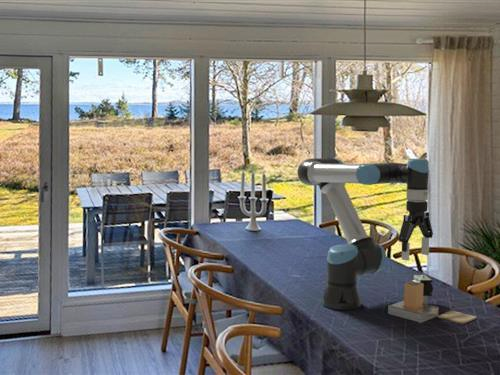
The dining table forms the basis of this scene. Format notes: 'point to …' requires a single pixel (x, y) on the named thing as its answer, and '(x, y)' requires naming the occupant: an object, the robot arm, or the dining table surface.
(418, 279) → the pneumatic valve
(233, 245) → the dining table surface
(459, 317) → the pad
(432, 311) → the grey flat block
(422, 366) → the dining table surface
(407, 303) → the light wood tall block
